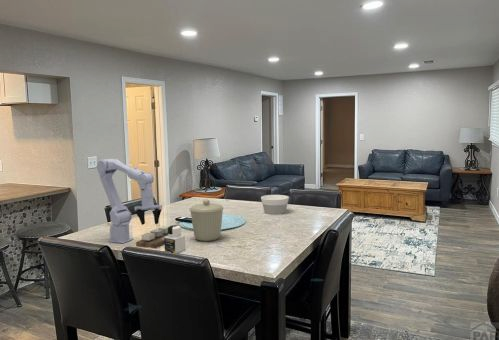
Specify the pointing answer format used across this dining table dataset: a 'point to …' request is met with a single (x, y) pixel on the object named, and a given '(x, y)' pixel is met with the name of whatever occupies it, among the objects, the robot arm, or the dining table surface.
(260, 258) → the dining table surface
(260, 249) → the dining table surface
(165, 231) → the sage key
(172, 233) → the medicine bottle
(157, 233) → the grey key
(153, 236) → the cream key
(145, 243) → the keypad board
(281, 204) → the bowl
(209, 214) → the canister
